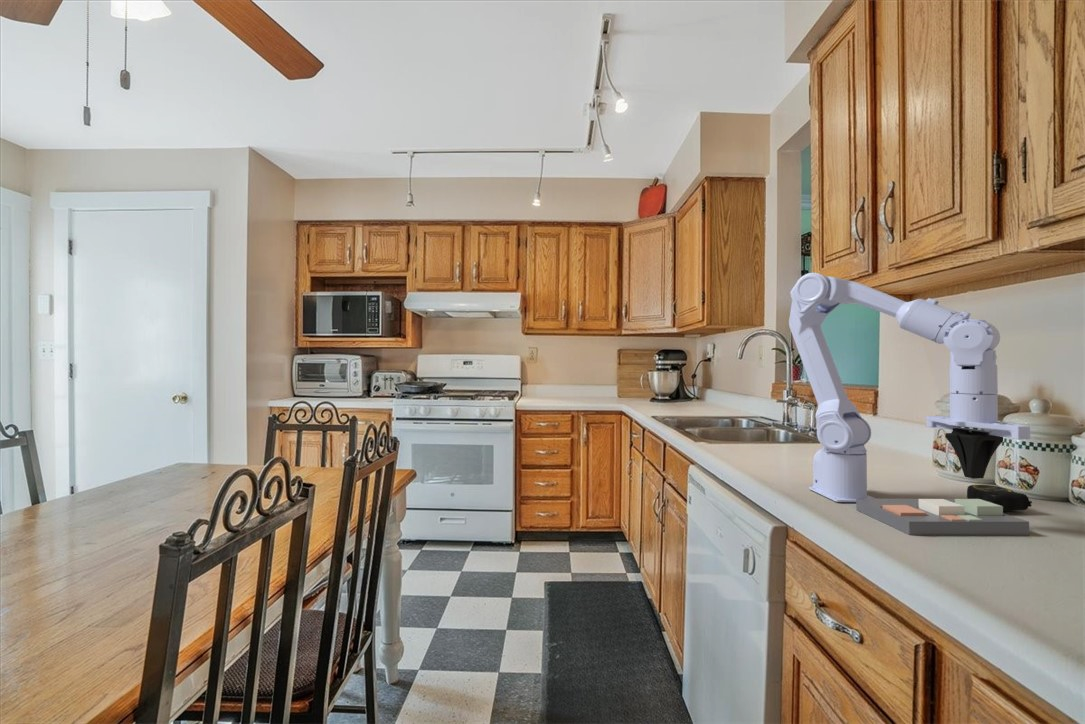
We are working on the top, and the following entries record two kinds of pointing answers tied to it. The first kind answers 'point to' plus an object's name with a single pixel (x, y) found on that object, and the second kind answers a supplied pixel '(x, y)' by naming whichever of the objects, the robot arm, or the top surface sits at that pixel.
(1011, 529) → the keypad
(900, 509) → the terracotta key
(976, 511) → the sage key
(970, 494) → the tape measure
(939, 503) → the cream key
